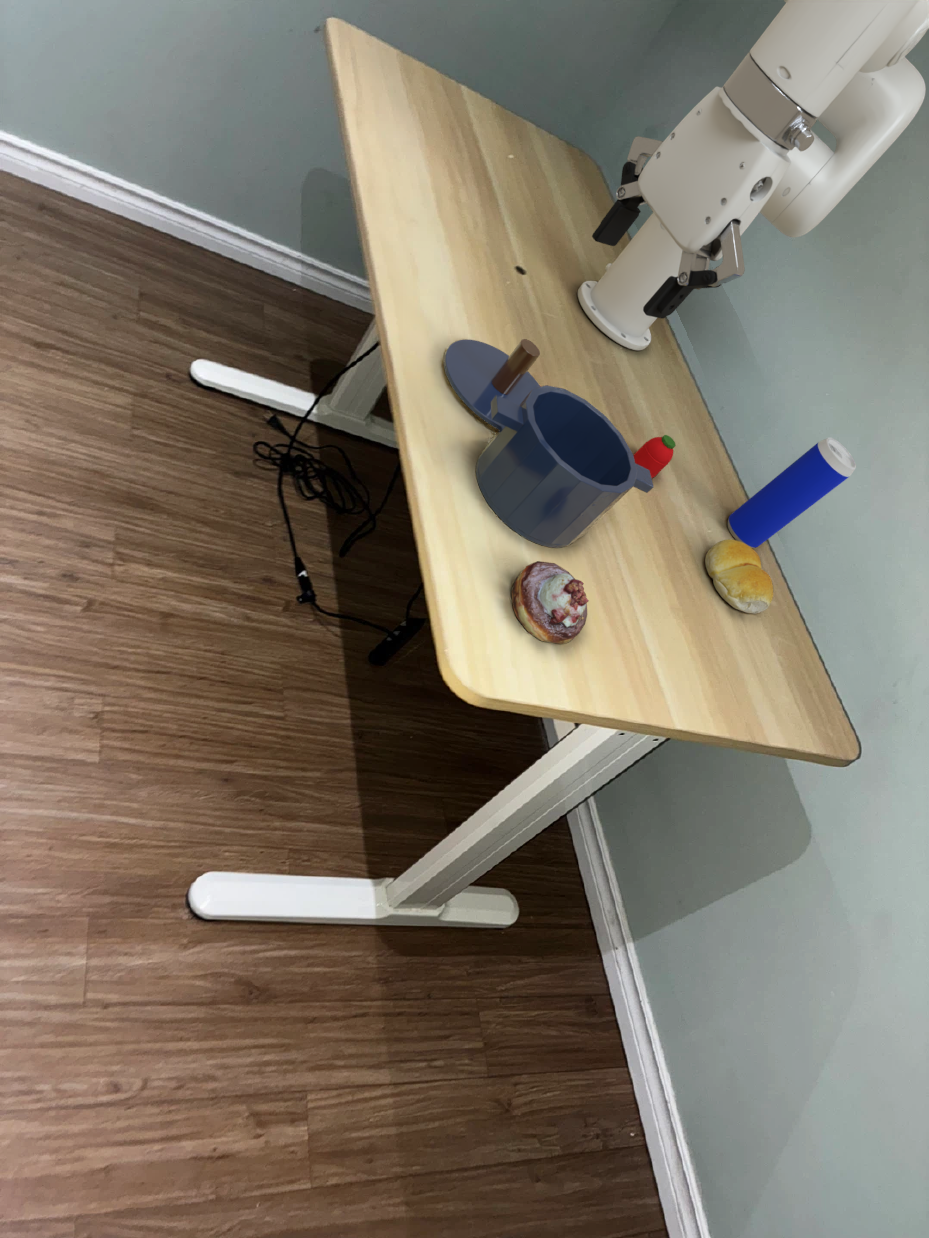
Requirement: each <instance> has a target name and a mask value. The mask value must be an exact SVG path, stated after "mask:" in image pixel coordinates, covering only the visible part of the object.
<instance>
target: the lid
mask: <svg viewBox="0 0 929 1238" xmlns="http://www.w3.org/2000/svg"><path fill="white" fill-rule="evenodd" d="M540 356H541V351H540V348H539V347H538V346H537V345H536V344H535V343H534V342H533V341H531V340H530V339H526V338H523V339H521V340H520V341H519V343H518V344H517V345H516V346H515V348H514V349H513V350H512V352H511V353H510V355H509V354H508V353H506V352H504V351H502V350H501V349H499V348H498V347H495V346H493V345H491V344H488V343H486V342H483V341H481V340H476V339H467V338H466V339H458V340H456V341H454V342H452V343H451V344H450V345H449V346H448V347H447V349H446V350H445V352H444V355H443V369H444V373H445V375H446V378H447V380H448V382H449V384H450V386H451V388H452V390H453V391H454V392H455V394H456V395H457V396H458V397H459V399H460V400H461V401H462V402H463V404H464V405H466V407H467V408H469V409H470V411H472V413H474V414H475V415H476V416H477V417H478V418H480V419H481V420H482V421H483V422H485V423H487V424H488V425H489V426H491V427H493V428H494V429H497V430H498V431H499V430H500V428H501V427H502V426H503V425H502V424H500V423H498V422H496V421H494V420H492V414H491V401H492V400H493V398H494V397H495V396H496V395H498V396H500V397H502V398H504V399H506V400H508V401H510V402H513V403H515V404H517V405H520V404H521V402H522V401H523V400H524V399H525V398H526V396H527V395H528V394H529V393H530V391H531V390H532V389H535V388H538V387H541V385H540V383H539V382H538V381H537V380H536V378H535V377H534V376H533V375H532V374H531V373H530V372H529V370H530V369H531V367H532V366H533V364H534V363H535V362H536V361H537V360H538V358H540Z"/></svg>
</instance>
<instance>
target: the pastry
mask: <svg viewBox="0 0 929 1238" xmlns="http://www.w3.org/2000/svg"><path fill="white" fill-rule="evenodd" d="M512 585H513V586H512V589H511V600H512V609H513V612H514V614H515V616H516V618H517V620H518V621H519V622H520V624H521V625H522V626H523V627H524V629H525V631H526V632H527V633H528V634H530V635H531V636H533V637H535V638H537V639H538V640H539V641H540V642H545V643H553V644H560V645H564V644H568V643H570V642H571V641H572V640H573V639H574V638H576V637H577V636H578V635H579V634H580V633H581V631H582V630H583V629H584V627H585V625H586V622H587V618H588V603H589V601H590V600H589V599H588V598H587V594H586V592H585V588H584V582H583V581H582V580H580V579H576V578H575V577H574V576H573V575H572V574H571V573H570V572H569V571H568V570H566V569H565V568H563V567H561V566H560V565H559V564H556V563H555V562H548V561H540V560H538V561H535V562H533V563H530V564H528V565H526V566H525V567H524V569H523V570H522V571H521V572H520V573H519V574H518V575H517V576H516V578H515V580H514V582H513V584H512Z"/></svg>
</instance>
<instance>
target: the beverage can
mask: <svg viewBox="0 0 929 1238" xmlns="http://www.w3.org/2000/svg"><path fill="white" fill-rule="evenodd" d="M856 469H857V463H856V461H855V459H854V456H853V455H852V454H851V453H850V451H849V450H848V449H847V447H845V446H844V445H843V444H842V443H841V442H840V441H839V440H837V439H835V438H833V437H827V438H824V439H822V440H820V441H817V443H816V444H814V445H813V446H812V447H811V448H809V449H808V450H807V451H806V452H804V453H803V454H802V455H801V456H800V457H798V458H797V459H796V460H795V461H794V462H793V463H791V464H790V465H789V466H788V467H786V468H785V469H784V470H783V471H781V472H780V473H779V474H778V475H777V476H776V477H774V478H773V479H772V480H770V481H769V482H768V483H767V484H765V486H763V487H762V488H761V489H760V490H758V491H757V492H756V493H755V494H753V495H752V496H751V497H750V498H749V499H747V500H746V501H745V502H744V503H743V504H741V505H740V506H739V507H738V508H737V509H735V510H734V511H733V512H732V513H730V515H729V516H728V519H727V529H728V531H729V533H730V534H731V536H732V537H733V538H734V540H737V541H740V542H743V543H745V544H746V545H748V546H750V547H751V548H752V549H754V548H758V547H760V546H761V545H763V543H765V542H767V540H769V539H770V538H771V537H772V536H774V535H775V534H777V533H778V532H779V531H781V530H782V529H783V528H784V527H786V526H788V524H790V523H791V522H792V521H794V520H795V519H796V518H798V517H799V516H801V514H803V513H804V512H805V511H807V510H808V509H809V508H811V507H812V506H814V505H815V504H816V503H817V502H819V501H820V500H821V499H822V498H824V497H825V496H827V495H828V494H829V493H831V492H832V491H833V490H834V489H835V488H838V486H840V485H841V484H842V483H844V482H845V481H846V480H848V479H849V478H850V477H851V476H852V474H853V473H854V471H855V470H856Z"/></svg>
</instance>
